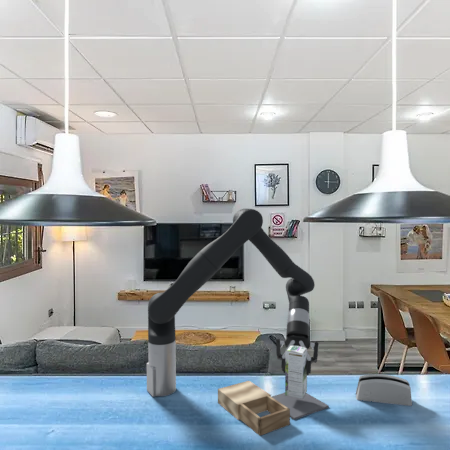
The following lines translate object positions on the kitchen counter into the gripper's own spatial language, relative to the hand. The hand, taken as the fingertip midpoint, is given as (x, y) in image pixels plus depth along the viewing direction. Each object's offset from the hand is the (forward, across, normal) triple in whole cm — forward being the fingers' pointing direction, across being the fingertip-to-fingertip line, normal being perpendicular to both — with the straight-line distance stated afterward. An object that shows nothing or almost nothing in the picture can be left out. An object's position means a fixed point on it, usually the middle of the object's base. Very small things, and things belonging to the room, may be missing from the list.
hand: (295, 372), depth 119 cm
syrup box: (+4, 0, +6) cm, 8 cm away
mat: (+6, 0, +8) cm, 11 cm away
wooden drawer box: (+13, -12, +2) cm, 18 cm away
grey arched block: (+1, +27, +15) cm, 31 cm away
